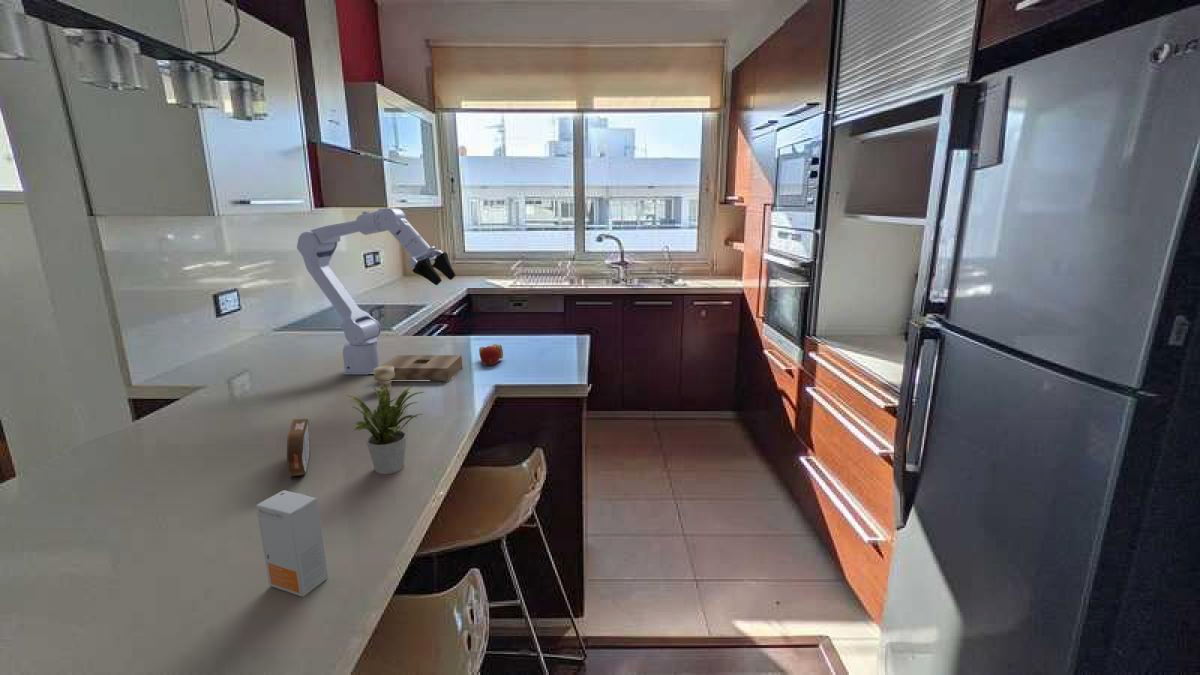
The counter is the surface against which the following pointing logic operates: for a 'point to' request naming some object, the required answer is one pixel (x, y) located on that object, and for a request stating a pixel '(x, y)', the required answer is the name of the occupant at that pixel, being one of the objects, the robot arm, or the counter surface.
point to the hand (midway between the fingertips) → (446, 280)
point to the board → (425, 367)
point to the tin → (298, 447)
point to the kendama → (491, 354)
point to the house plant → (386, 431)
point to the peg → (384, 375)
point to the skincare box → (292, 542)
